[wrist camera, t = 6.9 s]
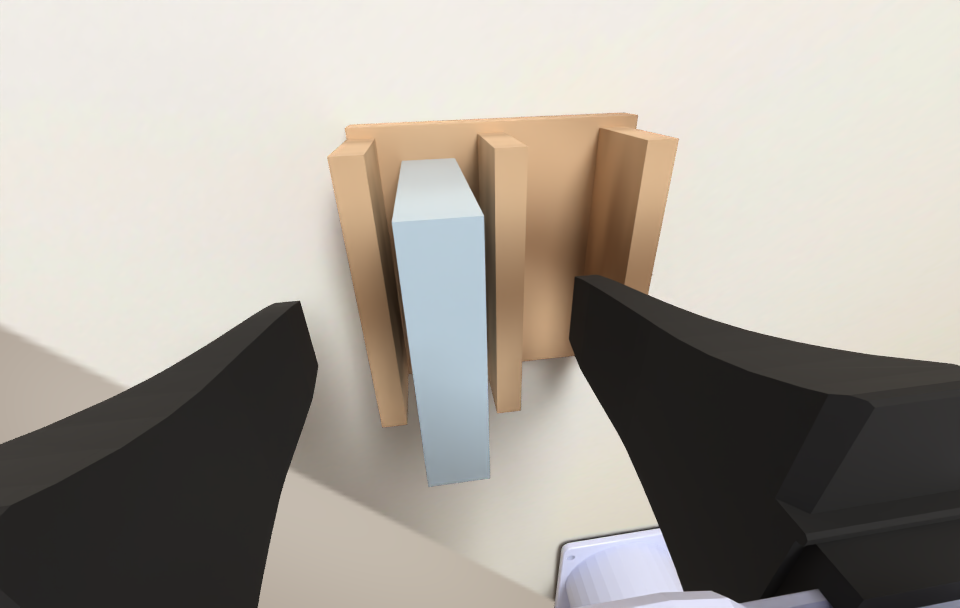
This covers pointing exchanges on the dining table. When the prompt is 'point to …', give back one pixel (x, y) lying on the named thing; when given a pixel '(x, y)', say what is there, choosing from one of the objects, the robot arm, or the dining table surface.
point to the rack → (506, 229)
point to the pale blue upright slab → (445, 315)
